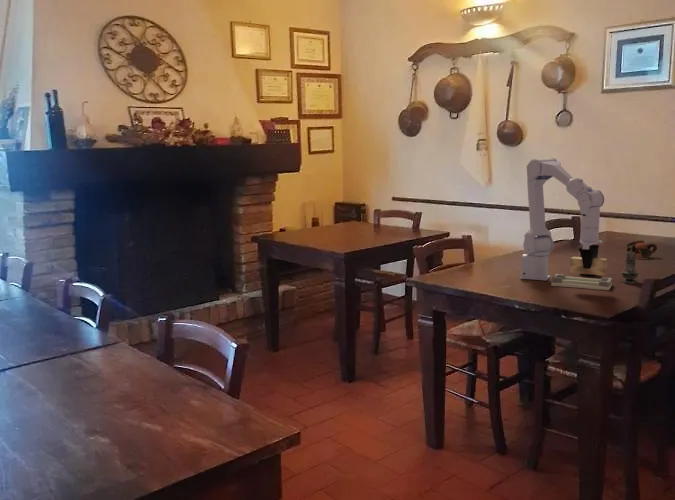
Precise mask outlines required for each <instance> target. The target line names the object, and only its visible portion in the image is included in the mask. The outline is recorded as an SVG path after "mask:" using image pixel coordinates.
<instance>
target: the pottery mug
mask: <svg viewBox="0 0 675 500" xmlns="http://www.w3.org/2000/svg"><path fill="white" fill-rule="evenodd" d="M651 248H653V249H652V250H651ZM631 249H632V251H633V252H635V257H636V259H637V260H641V259H650V258H651V256H652V255H653V254H655V253H656V252H657V250H658V246H657V244H655V243H653V242H651V243H646V242H645V241H644V240H642V239H641V240H635V241H631V242H629V243H627V244H626V250H625V251H626V252H629V251H631Z"/></svg>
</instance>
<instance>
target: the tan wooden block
mask: <svg viewBox="0 0 675 500" xmlns="http://www.w3.org/2000/svg"><path fill="white" fill-rule="evenodd" d="M607 266H608V258H600V257H598V258H593V260H592V265H591V268H590V269H586V268H584V267H583V262H582V257H580V256H572V257H570V267H569V269H570V270H569V272H570V274H579V275H580V274H592V275H596V276H606V274H607V269H608V267H607Z"/></svg>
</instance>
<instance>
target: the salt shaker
mask: <svg viewBox="0 0 675 500" xmlns="http://www.w3.org/2000/svg"><path fill="white" fill-rule="evenodd" d="M624 262H625V268H624V269H623V270H622V271H621V272H620V273H621V275H622V276H621V277H623V279H622V280H621V283H624V284H638V283H639V282H638V281H637V280H636V278H638V276H639V273H640V272H639V271H637V270H636V263H637V261H636V254H635V252H633V251H632V249H631V251H629V252H628V251H626V259H625V261H624Z"/></svg>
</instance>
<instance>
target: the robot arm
mask: <svg viewBox="0 0 675 500" xmlns="http://www.w3.org/2000/svg"><path fill="white" fill-rule="evenodd" d="M526 176H527V177H526V178H527V197H528V198H527V199H528V215H529V229H528V230H527V232H525V234H523V235H524V240H523V250H524V252H525V253H523V254H522V256H521V259H520V260H521V261H520V279H521V280H522V279H523V280H535V281H548V279H550V278H551V275H550V274H549V255H550V254H551V252H552V251H553V249H554V246H555V245H554V240H553V237H552V232H551V231H550V230H548V228H547V227H546V213H545V211H546V210H545V198H544V184H545V183H546V182H548V181H549V180H551V179H552V178H554V179H556V180H557V181H559V182H560V183H561V184H562V185H564V186H565V187H566V192H567V193H569V194H570V195H571V196H572V197H573V198H574V199H575V200H577V204H578V206H579V212H580V215H581V216H580V239H579V243H580V244H581V246H579V247H578V251H579V255H580V254H581V257H582V262H583V267H584V268H586V269H590V268H591V265H592V260H593V258H595V255H596V252H597V250H598V248H599V249H600V244H602V243H603V240H602V239H601V240H600V239H599V238H600V237H599V234H600V218H601V217H600V216H601V215H600V213H601V207H603V205H604V204H605V196H604V193H602V191H601V190H596V189H595V190H594V189H593V188H592V187H591V186H589V185H588V184H587V183H585V182H584V179H583V178H579V177H575V178H574V177H573V176H572V175H571V174H570V173H569V172H568V171H567V170H566V169H565V168H564V167H563V166H562V164H561V162H560V161H559V160H558V159H556V158H554V157H551V158H533V159H530V161H529V162H528V163H527V165H526Z"/></svg>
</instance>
